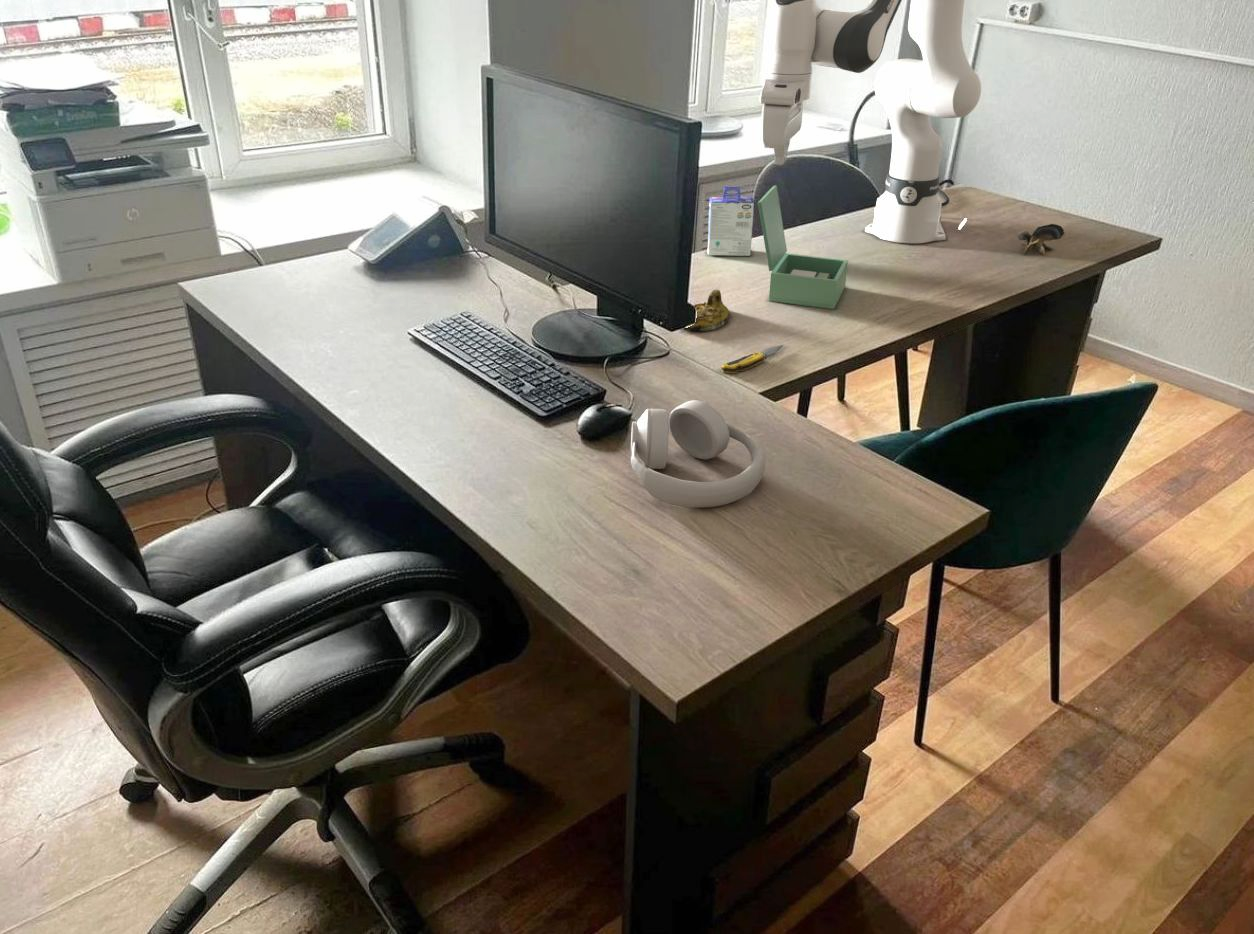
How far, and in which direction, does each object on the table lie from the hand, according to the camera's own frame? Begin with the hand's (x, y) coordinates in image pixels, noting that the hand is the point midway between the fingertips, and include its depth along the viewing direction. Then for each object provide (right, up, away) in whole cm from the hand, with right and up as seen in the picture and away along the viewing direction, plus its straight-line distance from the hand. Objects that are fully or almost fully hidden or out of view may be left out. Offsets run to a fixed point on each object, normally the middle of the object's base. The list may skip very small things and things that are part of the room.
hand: (780, 163), depth 193 cm
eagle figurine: (+64, -10, +36) cm, 74 cm away
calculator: (+7, -23, +10) cm, 26 cm away
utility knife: (-7, -40, -18) cm, 45 cm away
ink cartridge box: (-6, -10, +34) cm, 36 cm away
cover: (0, -11, +7) cm, 13 cm away
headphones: (-20, -60, -53) cm, 83 cm away
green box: (+7, -23, +11) cm, 27 cm away
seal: (-15, -31, -2) cm, 34 cm away
